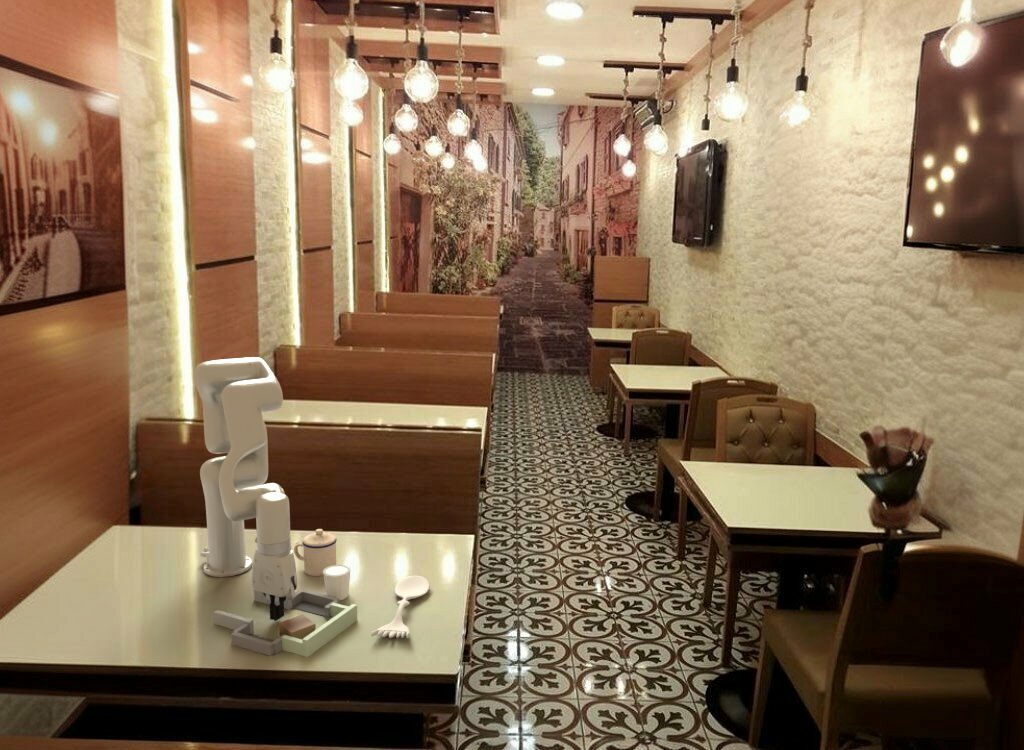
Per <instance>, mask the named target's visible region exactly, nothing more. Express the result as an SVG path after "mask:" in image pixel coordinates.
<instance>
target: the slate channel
mask: <svg viewBox="0 0 1024 750" xmlns="http://www.w3.org/2000/svg"><path fill="white" fill-rule="evenodd" d="M253 598H254V600H253V601H256V602H260V603H262V604H265V605H269V604H268V603H267V600H266V597H265V595H264V594H263V593H261V592H259V591H256V590H255V589H254V588H253ZM285 609H286V610H291V609H293V608H292V600H286V601H284V610H285ZM330 612H331V616H330V617H331V618H330V619H329V620H328V621H326V622H325V623H323V624H322V625H320V626H319V627H317V628H316V630H315V631H313V632H312V633H311V634H309V635H308V636H306V637H305V638H303V639H302V640H301V639H298V638H294V637H291V636H288V635H285V636H283V637H282V650H281V651H286V652H289V653H293V654H296V655H299V656H301V657H306V658H308V657H309V656H311V655H313V654H314V653H315V652H316V651H318V650H319V649H321V648H323V646H324V645H326V644H328V643H329V642H330V641H332V640H333V639H334V638H335V637H337V636H338V635H340V634H341V633H342V632H343V631H345V630H346V629H348V628H349V627H350V626H351V625H352V624H355V623H356V622H357V621H358V605H357V604H356V603H355V604H354V603H352V604H350V605H349V606H348V605H344V604H337V603H332V604H330ZM213 618H214V620H213V621H214V625H218V626H222V627H225V628H228V629H231V630H233V631H234V630H235V629H237V628H239V627H240V626H242V625H244V624H245V623H247V624H250V634H254V631H255V629H254V628H255V627H254V619H252V618H247V617H244V616H241V615H237V614H234V613H230V612H227V611H223V610H219V609H217V610H215V611H214V612H213Z"/></svg>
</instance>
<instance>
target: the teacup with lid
mask: <svg viewBox="0 0 1024 750" xmlns="http://www.w3.org/2000/svg"><path fill="white" fill-rule="evenodd" d="M302 539H303V540H302V542H299V543H297V544H295V546H294V547H293V554H295V555H294V556H295V557H296V558H297V559H298V560H299V561H301V562H303V571H304V572H305V574H306V575H309V576H313V577H324V576H323V570H324V569H325V568H327V567H329V566H333V565H337V544H336V542H337V537H336V535H334V533H333V534H332V533H330V532H325V531H324V530H323V529H322V528H317V529H315V532H313V533H311V534H307V535H306V536H304V538H302ZM299 547H303V548H302V549H303V556H302V555H301V554H300V552H299V550H298V548H299Z"/></svg>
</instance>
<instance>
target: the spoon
mask: <svg viewBox="0 0 1024 750" xmlns="http://www.w3.org/2000/svg"><path fill="white" fill-rule="evenodd" d="M430 588H431V584H430V582H429V580H428V579H427V578H426V577H424V576H421V575H409V576H406V577H403V578H402V579H400V580H398V581H397V583H395V585H394V590H393V592H394V593H395V595H396V596H397V597H399V598H401V600H398V601H397V602H396V604H397V606H398V608H397V611H396V614H395V616H394V618H393V620H392V621H391V622H389V623H387V624H385V625H382V626H381V627H379V628H376V629H375V630H372V631H371V637H374V636H375V635H376V636H377V637H378V638H379V637H381V636H382V638H385V637H387V636H388V637H389V638H390V639H393V638H394V637H396V639H398V638H399V637H401V638H402V639H403V638H404V637H405V636H406V639H408V638H409V637H410V634H411V633H410V627H408V626H407V625H405V623H404V622H403V612H404V609H405V607H407V606H409V605H410V600H413V599H417V598H420V597H423V596H424V595H425V594H427V593H428V592H429V590H430Z"/></svg>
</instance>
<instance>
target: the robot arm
mask: <svg viewBox="0 0 1024 750" xmlns="http://www.w3.org/2000/svg"><path fill="white" fill-rule="evenodd" d="M193 377H194V378H193V379H194V383H195V387H196V390H197V392H198V394H199V397H200V399H201V403H202V412H203V413H202V414H203V431H204V432H203V433H204V434H203V435H204V444H205V447H206V449H207V451H208V452H209V453H211V454H216V455H220V454H226V455H224V456H218V457H217V456H216V457H214V458H213V457H212V458H210V459H208V460H206V461H205V462H204V463H203V464H202V465H201V467H200V470H199V476H200V481H201V485H202V490H203V495H204V501H205V511H206V512H205V514H206V515H205V516H206V529H207V530H206V531H207V544H208V545H207V546H205V547H204V548H203V551H202V552H200V557H202V558H205V559H206V563H205V564H204V565H203V572H204V574H205V575H207V576H210V577H214V578H215V577H216V578H227V577H232V576H233V577H234V576H236V575H240V574H243V573H245V572H247V571H249V569H251V568H252V573H251V574H252V578H251V580H252V589H253V590H254V589H255V590H256V591H259V592H261V593H263V594H264V595H265V597H266V600H267V603H268V604H267V605H269V606H268V607H269V619H270V620H271V621H274V622H277V621H278V620H280V619H282V618H283V617H284V616H285V609H284V601H286V600H292V599H294V598H295V597H296V595H295V593H296V590H297V589H298V588H297V587H298V575H297V574H298V573H297V572H298V571H297V566H296V559H295V555H294V550H292V545H291V543H292V542H291V517H290V516H291V515H290V499H289V497H288V496H287V495H286V494H285V491H284V489H283V488H282V486H281V485H280V484H278V483H275V482H269V483H268V482H267V480H268V476H269V447H268V431H267V425H266V423H265V421H264V419H263V414H262V413H265V412H275V411H278V410H279V409H280V408H281V407H282V405H283V403H284V396H283V391H282V387H281V385H280V382H279V381H278V378H277V376H276V375H275V374H274V372H273V371H272V370H271V368H270V366H269V365H268V364H267V362H266V361H265V360H264V359H263V358H261V357H258V356H257V357H255V356H251V357H250V356H249V357H238V358H237V357H236V358H224V359H213V360H209V361H208V360H207V361H203V362H200V363H199V364H197V366H196V368H195V369H194V376H193ZM266 482H267V483H266ZM251 519H255V521H256V522H255V524H256V537H255V539H254V542H255V543H256V545H257V549H255V551H254V554H253V560H252V558H251V557H249V556H247V555H246V554H247V553H246V535H245V520H246V521H247V520H251Z"/></svg>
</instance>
